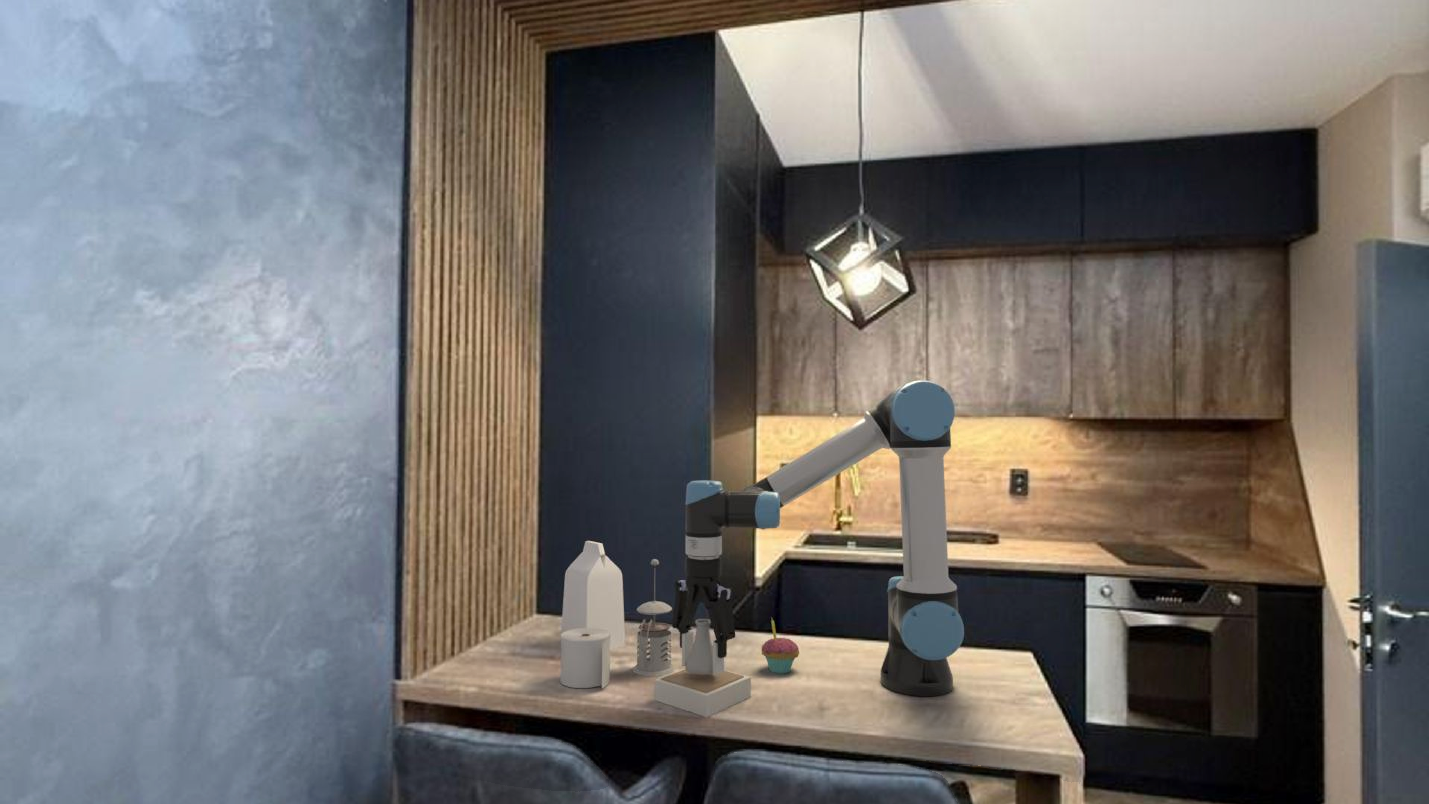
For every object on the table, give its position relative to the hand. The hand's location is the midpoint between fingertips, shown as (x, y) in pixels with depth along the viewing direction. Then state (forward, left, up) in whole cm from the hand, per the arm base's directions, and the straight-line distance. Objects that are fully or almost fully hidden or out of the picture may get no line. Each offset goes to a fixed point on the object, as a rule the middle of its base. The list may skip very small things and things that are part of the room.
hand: (702, 668), depth 150 cm
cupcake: (-2, -25, -6) cm, 26 cm away
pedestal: (0, 0, -6) cm, 6 cm away
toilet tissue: (+26, +8, -6) cm, 28 cm away
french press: (+20, -6, -6) cm, 22 cm away
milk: (+45, -10, -6) cm, 46 cm away
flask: (0, 0, -1) cm, 1 cm away
